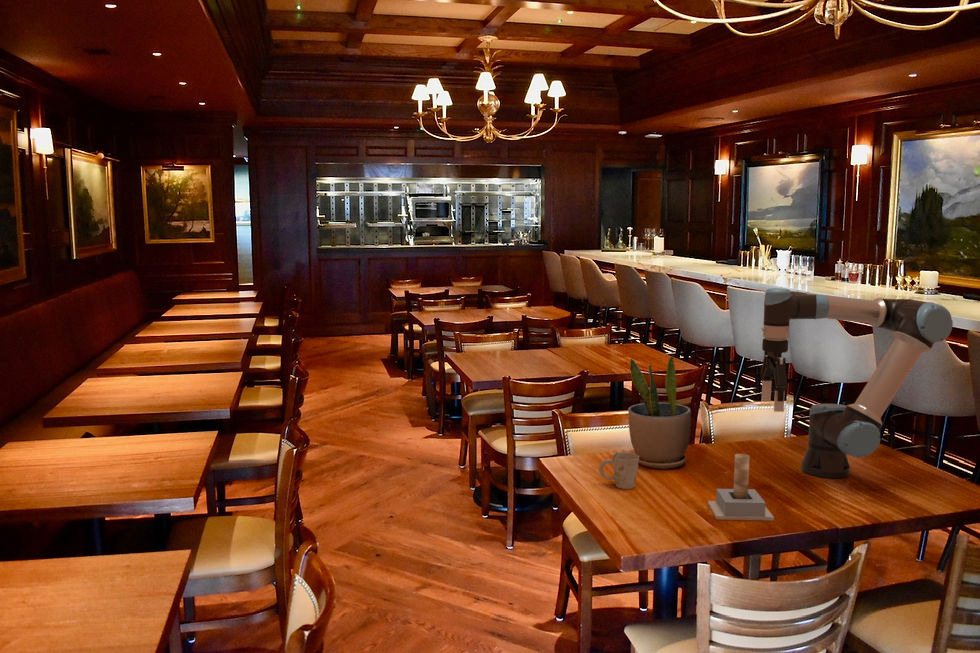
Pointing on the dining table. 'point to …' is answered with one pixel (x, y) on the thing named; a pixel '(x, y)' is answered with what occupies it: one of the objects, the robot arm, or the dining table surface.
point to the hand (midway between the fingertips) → (772, 406)
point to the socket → (739, 506)
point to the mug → (623, 469)
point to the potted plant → (658, 422)
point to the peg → (741, 476)
